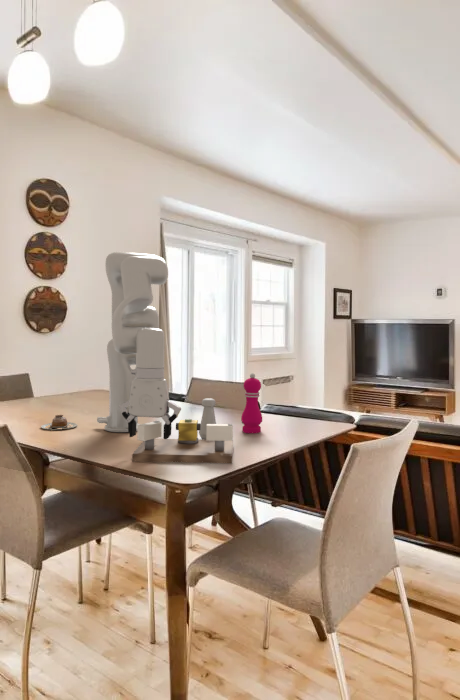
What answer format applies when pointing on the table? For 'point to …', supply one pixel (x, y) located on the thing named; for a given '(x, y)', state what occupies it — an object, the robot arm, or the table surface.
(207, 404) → the salt shaker
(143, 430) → the knob left
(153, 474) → the table surface
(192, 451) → the level base
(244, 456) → the table surface
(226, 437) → the knob right
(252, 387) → the pepper mill
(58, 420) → the pastry
